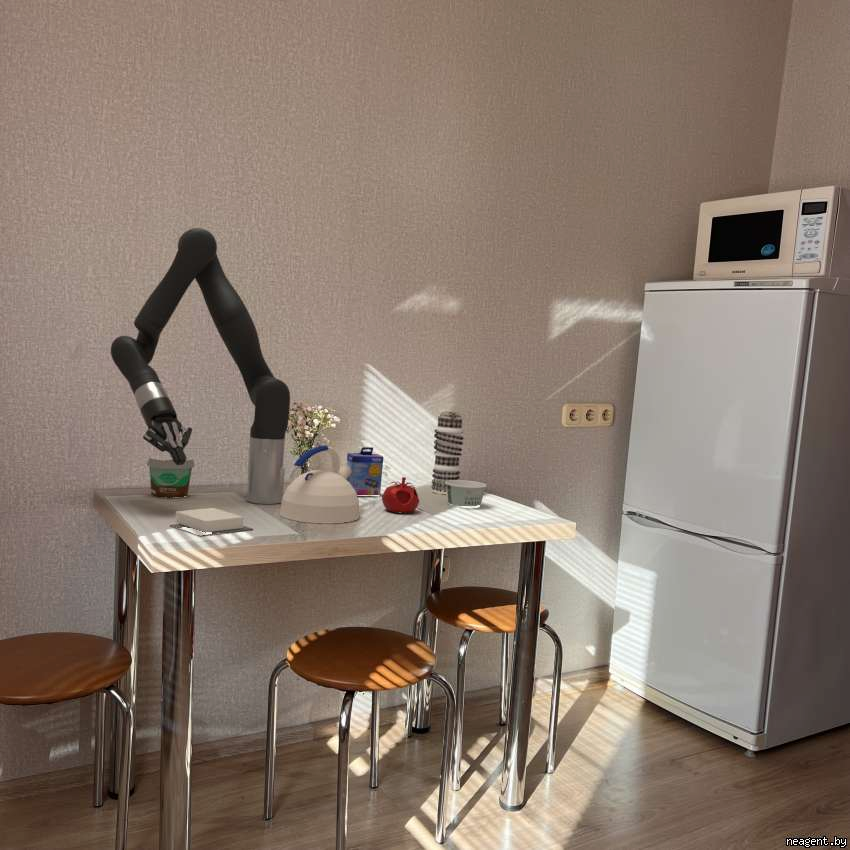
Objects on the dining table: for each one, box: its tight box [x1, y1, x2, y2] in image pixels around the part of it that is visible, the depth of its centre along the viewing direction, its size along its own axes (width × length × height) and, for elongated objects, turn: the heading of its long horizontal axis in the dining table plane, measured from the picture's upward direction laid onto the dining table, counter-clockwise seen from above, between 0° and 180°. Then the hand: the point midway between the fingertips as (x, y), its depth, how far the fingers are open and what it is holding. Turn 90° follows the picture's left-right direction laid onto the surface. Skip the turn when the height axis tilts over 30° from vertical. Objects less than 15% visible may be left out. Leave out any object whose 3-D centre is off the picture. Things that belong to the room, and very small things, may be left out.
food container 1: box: [146, 457, 195, 499], centre depth 233 cm, size 12×6×10 cm, turn 112°
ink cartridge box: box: [346, 446, 384, 496], centre depth 257 cm, size 10×6×14 cm, turn 114°
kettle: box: [279, 444, 360, 525], centre depth 223 cm, size 20×21×18 cm
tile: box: [175, 507, 245, 533], centre depth 200 cm, size 3×10×12 cm
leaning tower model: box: [431, 411, 465, 492], centre depth 272 cm, size 9×9×25 cm
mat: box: [169, 523, 254, 534], centre depth 200 cm, size 12×14×1 cm
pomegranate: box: [381, 476, 420, 514], centre depth 237 cm, size 10×10×9 cm
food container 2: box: [445, 479, 488, 506], centre depth 253 cm, size 12×12×6 cm
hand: (181, 463), depth 209 cm, fingers closed
